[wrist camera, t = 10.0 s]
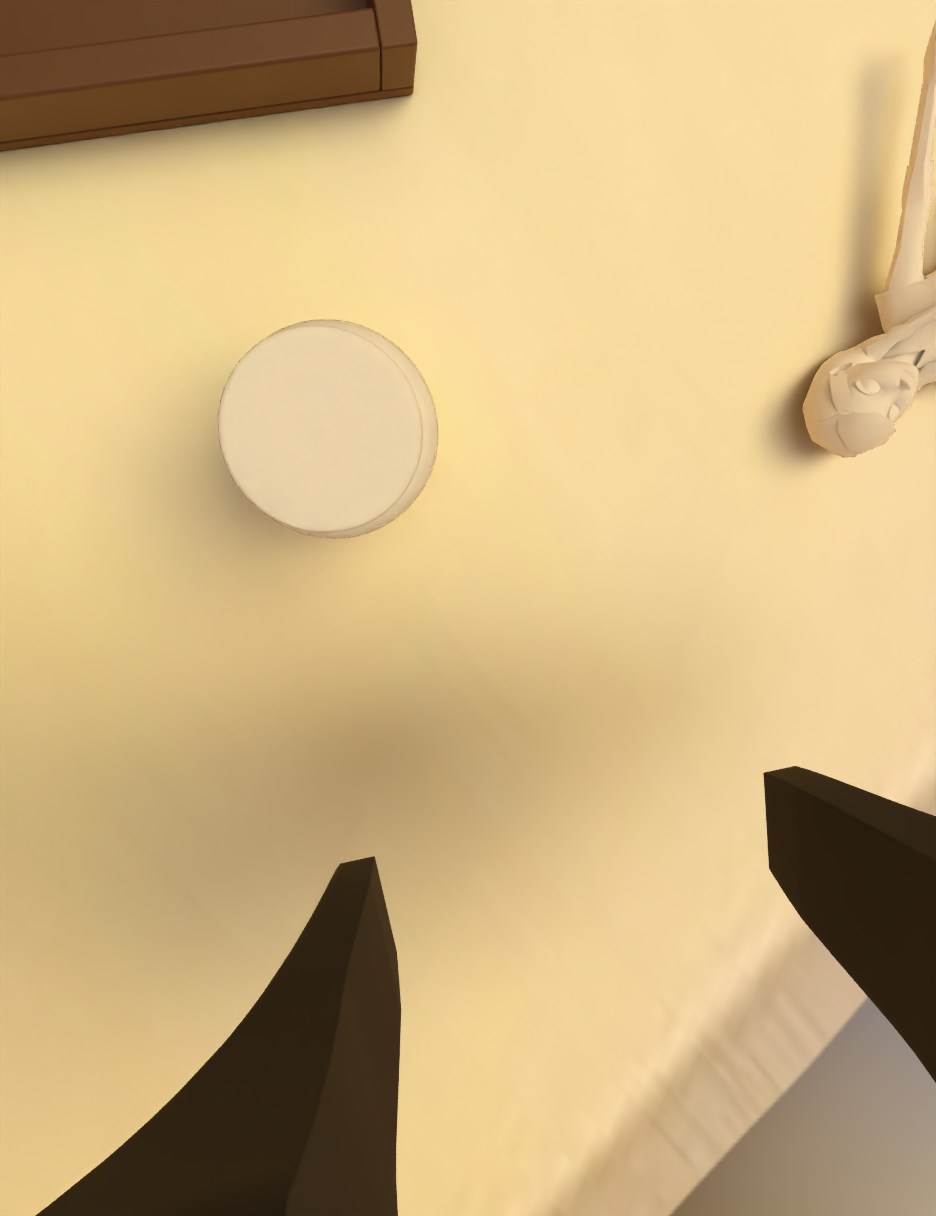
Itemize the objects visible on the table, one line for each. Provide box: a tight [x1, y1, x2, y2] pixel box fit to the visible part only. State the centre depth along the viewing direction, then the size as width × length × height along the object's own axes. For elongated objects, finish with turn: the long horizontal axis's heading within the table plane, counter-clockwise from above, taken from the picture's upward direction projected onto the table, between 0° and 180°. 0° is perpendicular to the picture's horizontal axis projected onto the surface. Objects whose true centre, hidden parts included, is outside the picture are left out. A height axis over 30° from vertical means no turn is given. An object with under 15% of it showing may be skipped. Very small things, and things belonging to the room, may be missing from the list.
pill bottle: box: [218, 320, 438, 538], centre depth 16 cm, size 4×4×8 cm
